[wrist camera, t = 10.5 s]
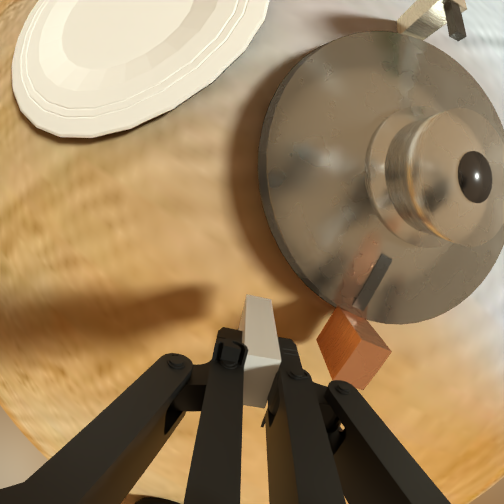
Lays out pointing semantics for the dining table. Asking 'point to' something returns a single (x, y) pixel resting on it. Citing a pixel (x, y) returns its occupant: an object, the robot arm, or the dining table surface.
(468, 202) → the cover
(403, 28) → the turntable base
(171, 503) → the coffee jar
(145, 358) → the dining table surface
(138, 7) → the plate
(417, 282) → the turntable
